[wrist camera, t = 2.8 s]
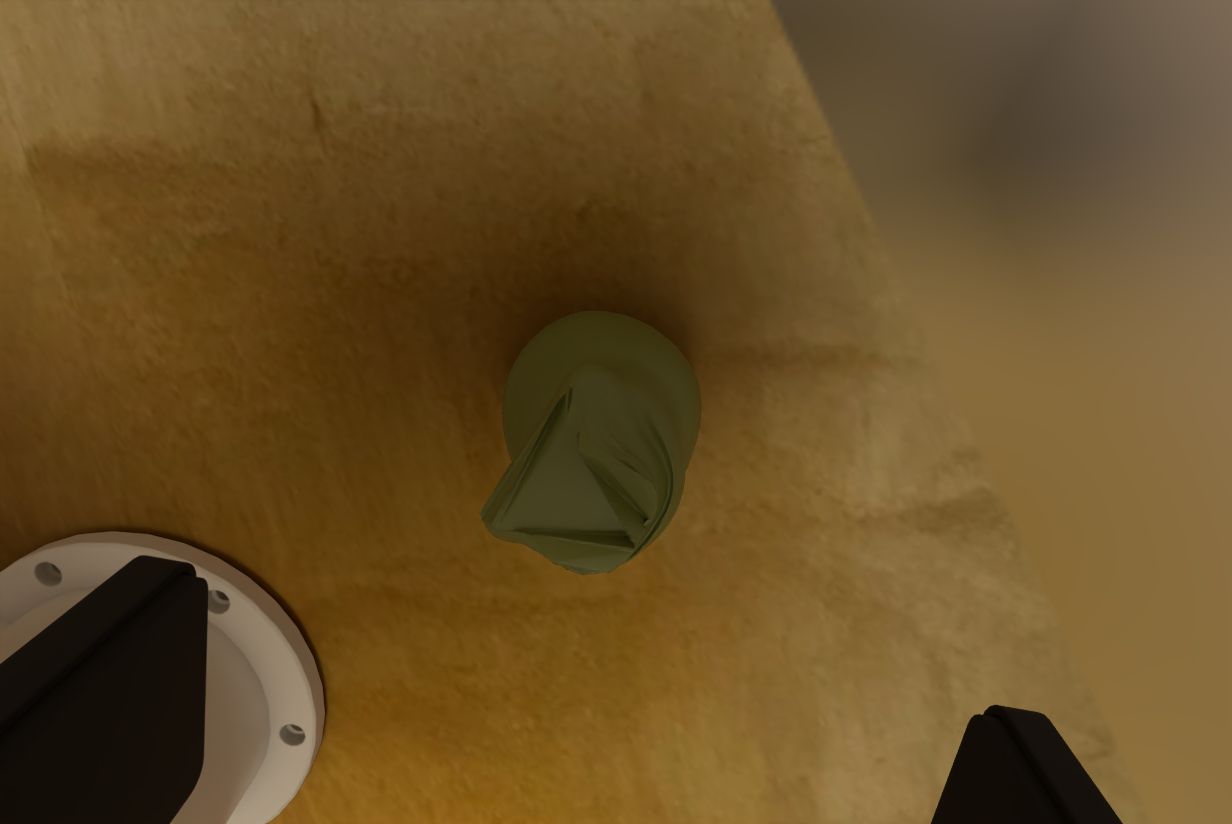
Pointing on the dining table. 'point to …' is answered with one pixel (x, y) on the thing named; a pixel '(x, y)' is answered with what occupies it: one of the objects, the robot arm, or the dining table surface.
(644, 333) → the pear
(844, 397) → the dining table surface
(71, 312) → the dining table surface
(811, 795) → the dining table surface
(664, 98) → the dining table surface
